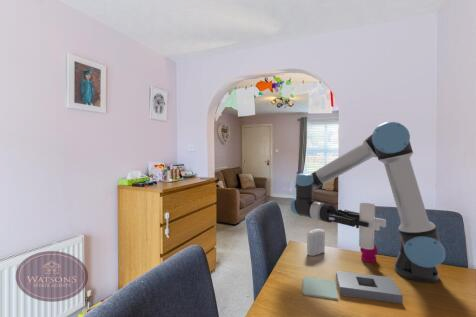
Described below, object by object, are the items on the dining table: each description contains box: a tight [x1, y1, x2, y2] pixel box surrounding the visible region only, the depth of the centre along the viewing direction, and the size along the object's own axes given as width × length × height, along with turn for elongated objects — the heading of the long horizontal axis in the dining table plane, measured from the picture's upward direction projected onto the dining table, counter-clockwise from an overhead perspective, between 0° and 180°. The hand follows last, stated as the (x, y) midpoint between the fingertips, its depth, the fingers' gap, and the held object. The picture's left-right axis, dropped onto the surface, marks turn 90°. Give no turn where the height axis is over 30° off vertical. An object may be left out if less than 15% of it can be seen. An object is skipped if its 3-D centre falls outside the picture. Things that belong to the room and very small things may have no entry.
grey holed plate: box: [335, 270, 404, 305], centre depth 92 cm, size 20×12×3 cm, turn 74°
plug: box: [358, 202, 376, 250], centre depth 91 cm, size 5×5×16 cm
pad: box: [302, 276, 339, 301], centre depth 93 cm, size 12×12×1 cm
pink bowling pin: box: [359, 230, 378, 263], centre depth 116 cm, size 7×7×20 cm
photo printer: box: [306, 228, 326, 257], centre depth 124 cm, size 10×4×12 cm, turn 123°
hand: (382, 225), depth 87 cm, fingers closed on plug, 5 cm apart
